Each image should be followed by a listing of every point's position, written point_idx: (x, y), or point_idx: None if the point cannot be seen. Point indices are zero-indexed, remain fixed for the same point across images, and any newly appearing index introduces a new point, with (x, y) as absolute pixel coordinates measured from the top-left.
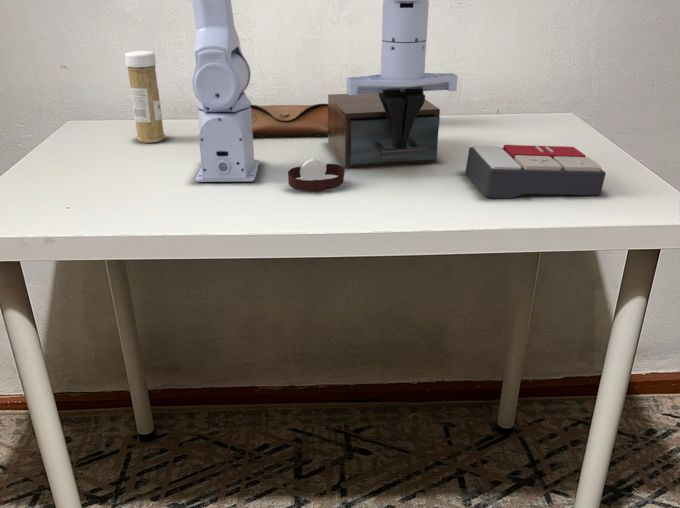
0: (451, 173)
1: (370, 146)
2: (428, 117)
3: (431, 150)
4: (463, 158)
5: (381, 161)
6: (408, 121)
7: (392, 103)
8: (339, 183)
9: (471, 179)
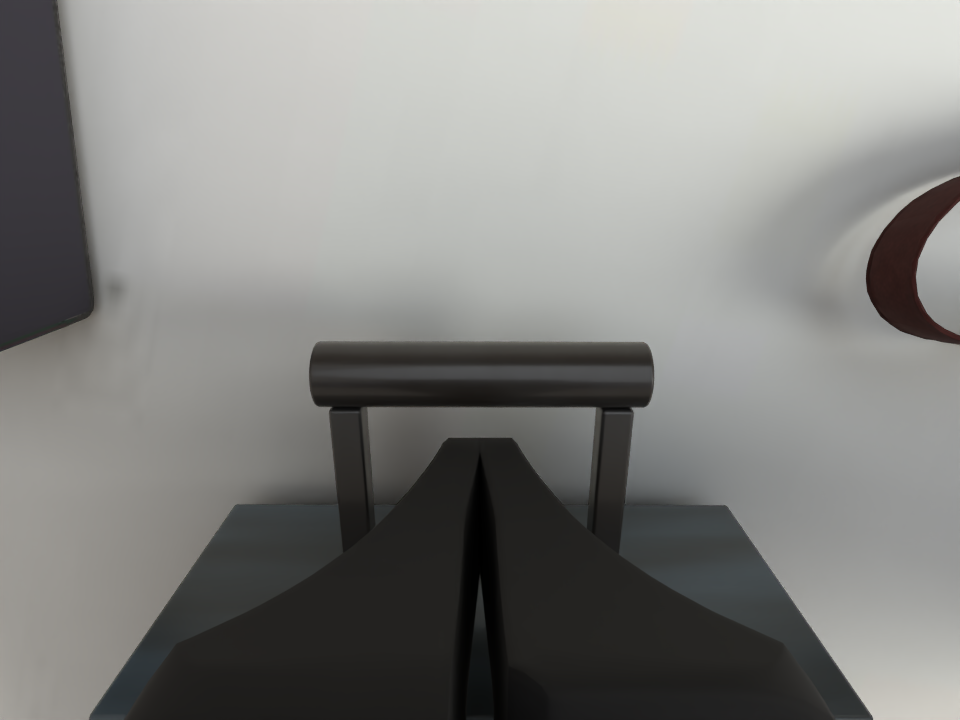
0: (181, 342)
1: (644, 567)
2: None
3: (243, 535)
4: (77, 571)
5: None
6: (428, 530)
7: (739, 655)
8: (921, 200)
9: (74, 151)
